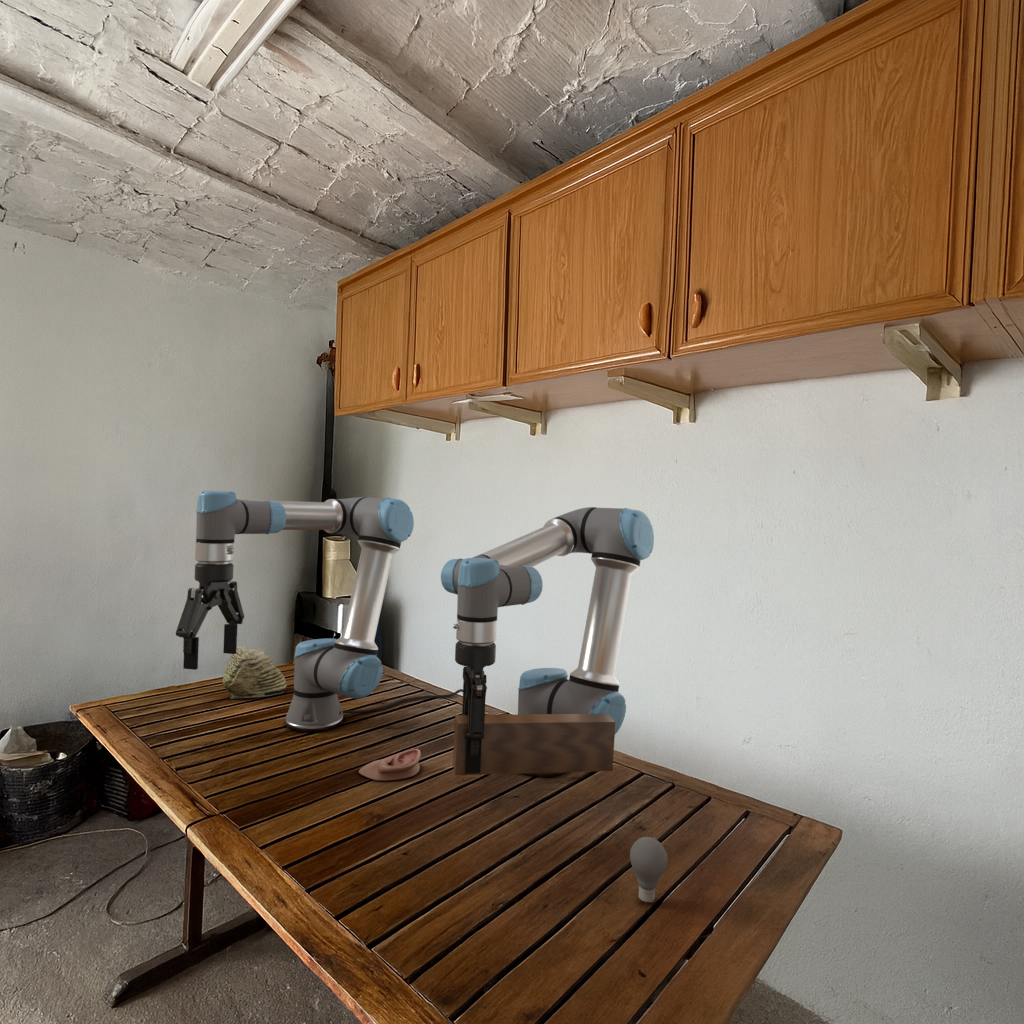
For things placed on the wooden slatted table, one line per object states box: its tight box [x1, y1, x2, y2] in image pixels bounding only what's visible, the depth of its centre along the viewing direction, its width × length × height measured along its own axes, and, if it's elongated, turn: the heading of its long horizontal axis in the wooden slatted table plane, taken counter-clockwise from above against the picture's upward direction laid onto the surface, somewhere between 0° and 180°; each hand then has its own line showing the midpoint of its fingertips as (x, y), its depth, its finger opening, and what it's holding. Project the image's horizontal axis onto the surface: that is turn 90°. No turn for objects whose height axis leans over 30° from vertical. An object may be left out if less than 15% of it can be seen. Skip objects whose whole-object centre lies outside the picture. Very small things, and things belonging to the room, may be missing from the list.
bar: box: [452, 714, 616, 776], centre depth 120 cm, size 30×5×10 cm, turn 101°
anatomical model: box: [358, 748, 422, 782], centre depth 147 cm, size 13×4×12 cm
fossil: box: [222, 646, 288, 699], centre depth 198 cm, size 9×18×15 cm, turn 132°
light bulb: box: [629, 836, 668, 903], centre depth 103 cm, size 6×6×10 cm
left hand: (211, 660), depth 136 cm, fingers open, 13 cm apart
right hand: (470, 765), depth 118 cm, fingers closed on bar, 5 cm apart
